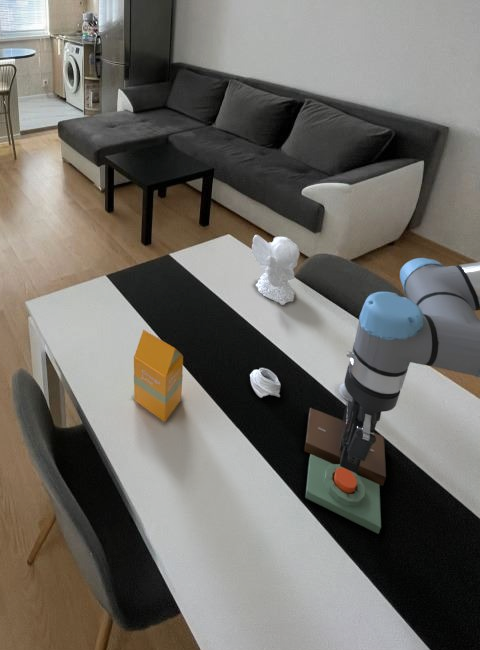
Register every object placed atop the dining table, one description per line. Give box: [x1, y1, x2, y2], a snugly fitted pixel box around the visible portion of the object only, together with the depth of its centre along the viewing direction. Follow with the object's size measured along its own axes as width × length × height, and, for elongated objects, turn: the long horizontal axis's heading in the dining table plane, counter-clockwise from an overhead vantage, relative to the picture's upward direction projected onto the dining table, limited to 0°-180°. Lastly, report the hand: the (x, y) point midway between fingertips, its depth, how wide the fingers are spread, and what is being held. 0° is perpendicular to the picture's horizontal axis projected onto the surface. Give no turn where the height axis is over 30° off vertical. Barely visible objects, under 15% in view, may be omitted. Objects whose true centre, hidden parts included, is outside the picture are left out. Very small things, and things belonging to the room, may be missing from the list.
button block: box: [305, 454, 382, 535], centre depth 83 cm, size 12×8×4 cm, turn 59°
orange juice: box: [133, 329, 184, 423], centre depth 101 cm, size 8×9×20 cm
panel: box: [304, 407, 387, 487], centre depth 91 cm, size 14×10×3 cm
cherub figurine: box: [251, 234, 301, 306], centre depth 132 cm, size 13×12×20 cm
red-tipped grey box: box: [340, 400, 352, 451], centre depth 89 cm, size 6×2×8 cm, turn 148°
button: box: [334, 468, 357, 494], centre depth 82 cm, size 4×4×2 cm
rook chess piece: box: [338, 381, 353, 402], centre depth 101 cm, size 4×4×8 cm
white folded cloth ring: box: [249, 367, 282, 399], centre depth 106 cm, size 8×7×5 cm
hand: (348, 466), depth 81 cm, fingers closed
